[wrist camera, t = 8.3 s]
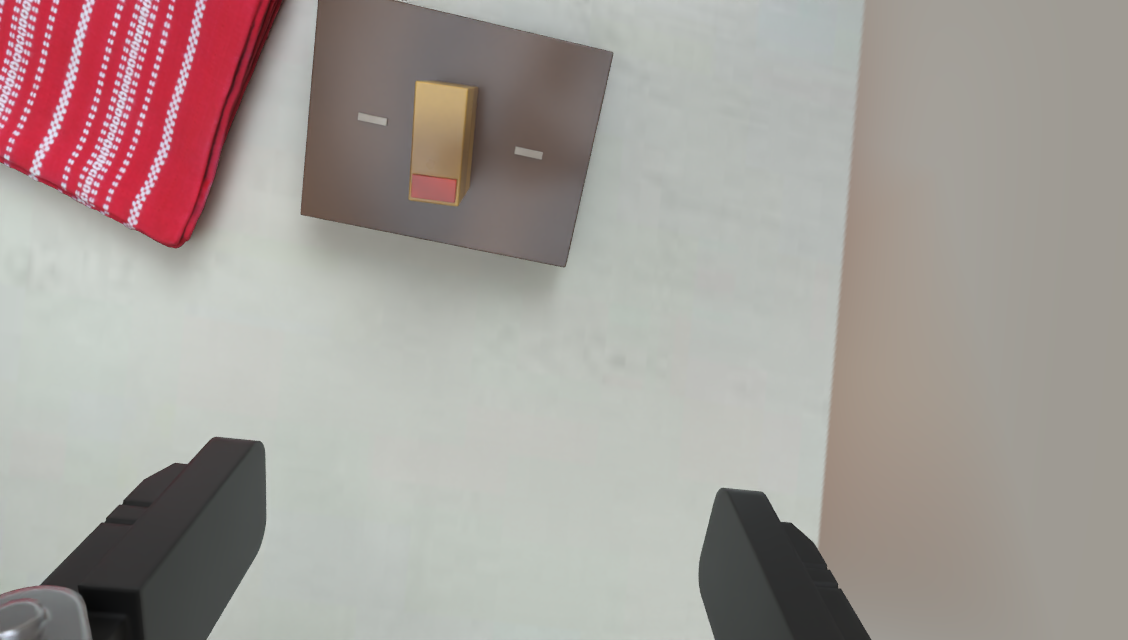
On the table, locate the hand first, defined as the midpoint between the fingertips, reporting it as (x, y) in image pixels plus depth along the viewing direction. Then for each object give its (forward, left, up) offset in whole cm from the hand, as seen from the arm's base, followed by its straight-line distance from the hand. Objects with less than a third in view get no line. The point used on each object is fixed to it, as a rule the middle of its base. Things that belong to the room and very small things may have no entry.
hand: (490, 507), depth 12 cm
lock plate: (+4, -4, -27) cm, 28 cm away
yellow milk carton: (+4, -4, -24) cm, 25 cm away
